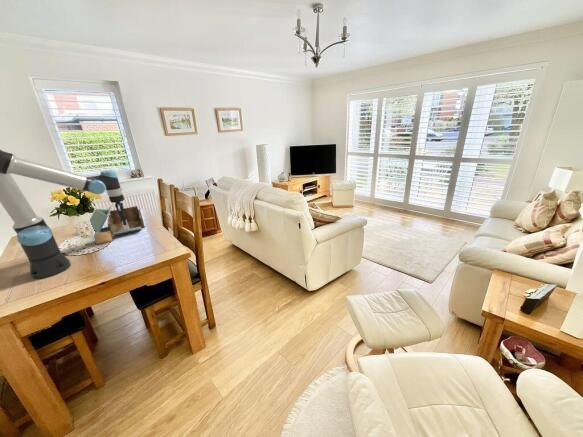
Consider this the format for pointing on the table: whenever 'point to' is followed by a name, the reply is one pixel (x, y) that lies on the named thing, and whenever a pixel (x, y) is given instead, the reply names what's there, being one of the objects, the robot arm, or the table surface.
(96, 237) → the peach pillar candle
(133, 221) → the brown open rectangular box
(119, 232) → the panel
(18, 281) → the table surface
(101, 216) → the planter
